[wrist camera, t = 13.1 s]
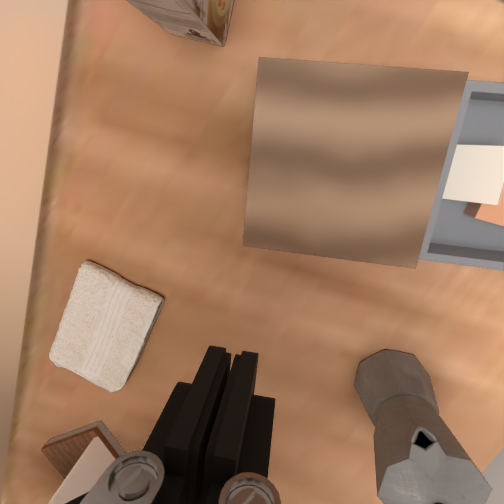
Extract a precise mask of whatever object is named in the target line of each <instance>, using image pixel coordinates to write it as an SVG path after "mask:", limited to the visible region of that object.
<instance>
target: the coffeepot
mask: <svg viewBox="0 0 504 504" xmlns="http://www.w3.org/2000/svg"><path fill="white" fill-rule="evenodd" d="M354 386H355V388H356V390H357V392H358V394H359V396H360V399H361V401H362V403H363V405H364V407H365V409H366V411H367V413H368V415H369V417H370V419H371V421H372V422H373V424H374V426H375V427H376V428H375V432H374V451H375V467H376V483H377V496H378V497H379V499H380V500H381V501H382V502H383V503H384V504H485V503H486V501H487V499H488V497H489V495H490V493H491V491H492V488H491V486H490V485H489V484H488V482H487V481H486V479H485V478H484V477H483V475H482V474H481V472H480V471H479V470H478V468H477V467H476V465H475V464H474V463H473V461H472V460H471V459H470V457H469V456H468V454H467V453H466V452H465V450H464V449H463V447H462V446H461V445H460V443H459V442H458V441H457V439H456V438H455V436H454V435H453V434H452V432H451V431H450V429H449V428H448V427H447V425H446V424H445V423H444V421H443V420H442V418H441V417H440V416H439V410H438V406H437V402H436V399H435V395H434V391H433V387H432V384H431V380H430V376H429V374H428V373H427V372H426V370H425V369H424V367H423V366H422V365H421V363H420V362H419V361H418V359H417V358H416V357H415V355H412V354H408V353H405V352H401V351H394V350H383V351H380V352H378V353H375V354H373V355H371V356H369V357H368V358H366V359H365V360H364V361H362V362H360V365H359V368H358V371H357V374H356V380H355V383H354Z"/></svg>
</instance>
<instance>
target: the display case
mask: <svg viewBox="0 0 504 504" xmlns="http://www.w3.org/2000/svg"><path fill="white" fill-rule="evenodd" d="M41 451H42V452H43V453H44V454H45V456H46V457H47V458H48V459H49V460H50V462H51V463H52V464H53V465H54V466H55V468H56V469H57V470H58V471H59V473H60V474H61V475H62V476H63V477H64V479H65V480H64V481H63V482H62V484H61V485H60V487H59V488H58V490H57V491H56V492H55V494H54V495H53V497H52V498H51V500H50V501H49V502H48V504H65V503H67V502H69V501H71V500H73V499H75V498H77V497H79V496H81V495H83V494H85V493H87V492H89V491H90V490H91V488H92V487H93V486H94V484H95V483H96V482H97V481H98V479H99V478H100V477H101V475H102V474H103V473H104V471H105V470H106V469H107V468H108V467H109V466H110V464H111V463H112V462H113V461H114V460H116V459H117V458H119V457H120V456H122V455H124V454H126V452H125V451H124V450H123V448H122V447H121V446H120V444H119V443H118V442H117V440H116V439H115V438H114V436H113V435H112V434H111V433H110V431H109V430H108V429H107V427H106V426H105V425H104V423H103V422H102V421H98V422H95V423H92V424H90V425H87V426H84V427H82V428H79V429H76V430H73V431H71V432H68V433H65V434H63V435H60V436H57V437H54V438H52V439H50V440H49V441H48V442H47V443H46V444H45V445H44V447H43V448H42V449H41Z"/></svg>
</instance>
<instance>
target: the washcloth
mask: <svg viewBox="0 0 504 504" xmlns="http://www.w3.org/2000/svg"><path fill="white" fill-rule="evenodd" d="M78 270H79V272H78V274H77V276H76V280H75V283H74V285H73V290H72V291H71V293H70V294H71V295H70V297H69V301H68V302H67V307H66V308H65V310H64V314H63V318H62V321H61V322H60V326H59V330H58V332H57V334H56V338H55V339H54V342H53V344H52V348H51V351H50V353H49V358H50V360H51V361H53V362H54V364H55V365H56V366H57V367H64V368H66V369H68V370H71V371H73V372H75V373H76V374H78V375H80V376H82V377H84V378H85V379H87V380H89V381H91V382H92V383H94V384H96V385H98V386H100V387H102V388H104V389H106V390H108V391H109V392H111V393H113V392H114V391H118V390H120V389H121V388H122V387H123V386H124V385H125V383H126V381H127V379H128V377H129V374H130V372H131V371H132V370H133V368H134V366H135V364H136V362H137V360H138V358H139V355H140V353H141V351H142V349H143V347H144V345H145V343H146V340H147V338H148V336H149V334H150V331H151V329H152V326H153V324H154V322H155V320H156V318H157V316H158V314H159V312H160V310H161V307H162V305H163V302H164V298H162V297H161V296H159V295H158V294H156V293H154V292H152V291H150V290H148V289H146V288H143V287H140V286H136V285H134V284H132V283H131V282H129V281H127V280H125V279H123V278H121V276H120V275H118V274H116V273H114V272H112V271H111V270H108V269H107V268H104V267H103V266H100V265H99V264H96V263H94V262H91V261H86V260H85V262H84V263H83V264H82V265H81V268H79V269H78Z"/></svg>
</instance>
